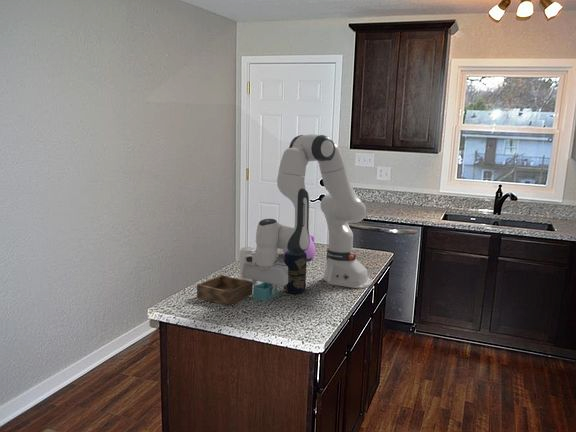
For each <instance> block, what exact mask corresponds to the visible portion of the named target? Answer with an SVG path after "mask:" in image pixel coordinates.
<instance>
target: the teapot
mask: <svg viewBox="0 0 576 432" xmlns="http://www.w3.org/2000/svg"><path fill="white" fill-rule="evenodd" d="M309 237H310V244H309V247H308V248H307V250H306V251H304V252H305V253H306V254H307V260H311V259H312V258H313V257H314V256H315V255H316V247H315V244H314V243H315V237H314V236H313V235H312V234H309ZM286 252H287V251H286V250H282V254H283V256H284V255H285V253H286Z"/></svg>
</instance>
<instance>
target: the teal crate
mask: <svg viewBox="0 0 576 432" xmlns="http://www.w3.org/2000/svg"><path fill="white" fill-rule="evenodd" d="M271 289H273V287H272V284H269V283H265V282H261V283H259V284H258V283H257V285H256V286H254V285H253V293H252V299H255V300H257V299H258V301H261V300H262V301H261V302H268V301H269V300H271V299H273V298H276V297H277V296H278V287H277V288H276V290H275V294H274V295H272V294H270V290H271Z"/></svg>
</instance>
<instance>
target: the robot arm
mask: <svg viewBox="0 0 576 432" xmlns="http://www.w3.org/2000/svg"><path fill="white" fill-rule="evenodd" d="M309 162H317V163H318V166H319V171H320V175H321V178H322V183H323V186H324V188H325V190H326V191H327V192H328V193H329V194H326V195H324V196H323V197H322V199H321V201H320V210H321V211H322V213H323V215H324V217H325V221H326V224H327V225H326V226H327V230H328V231H327V232H328V243H327V244H328V245H327V247H328V248H327V249H326V264H325V265H326V266H325V270H324V271H325V272H324V274H323V276H322V279H323V280H324V281H325V282H326V283H327V284H328V285H331V286H338V287H345V288H352V289H354V288H355V289H360V290H362V289H365V288H369V287H370V286H372V284H373V279H372V278H369V277H368V274H369V273H368V270H367V268H366V267H365V266H364V264H362V263H361V262H360V261H359V260H357V259H356V258H357V255H358V252H355V251H354V250H353V247H354V246H353V244H354V233H353V231H352V229H351V228H350V225H349V223H351V224H353V223H355V224H356V223H360V222H362V221H363V220H364V218H365V217H366V214H367V207H366V204H365V203H364V202H363V201H362V200H361V199H360V198H359V196H358V195H357V194H356V192H355V190H354V188H353V186H352V185H351V181H350V179H349V176H348V175H349V174H348V172H347V168H346V164H345V160H344V157H343V154H342V152H341V149H340V147H339V146H338V145H337V144H336V143H335V142H334V141H333V140H332V138H331V137H329V136H328V135H324V134H315V133H313V134H305V135H304V134H300V135H297V136H295V137H294V138H293V139H292V140H291V142H290V143H289V147H288V148H286V149H285V150H284V151H283V154H282V156H281V160H280V164H279V167H278V173H277V178H276V182H277V188H278V190H279V192H280V193H281V194H282V195H283V196H284V197H286V198H287V199H289V201H291V203H292V205H293V207H294V227H290V226H286V225H284V224H281V223H279V222H278V220H277V219H274V218H264V219H262V220H259V222H258V224H257V228H256V233H255V243H256V248H255V250H254V254H251V255H248V256H245V257H244V261H245V262H244V264H243V271H242V275H243V277H244V278H248V279H252V281H251V282H252V283H253V287H254V286H256V285H258V282H261V283H263V282H265V283H269V284H272V287H273V289H271V290H270V294H272V295H274V294H275V290H276V288H277V289H278V287H282V288H283V286H285V285H287V284H288V266H287V265H286V264H285V263H284V262H280V261H278V249H280V250H282V251H283V250H286V251H289V252H292V253H294V254H297V255H299V254H301V253H303V252H304V251H306V250H307V248H308V247H309V244H310V238H311V237H309V235H310V232H309V231H310V230H309V223H310V197H309V196H310V195H309V193H308V191H307V189H306V185H305V184H306V183H305V178H306V171H307V165H308V163H309Z"/></svg>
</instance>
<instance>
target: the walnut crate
mask: <svg viewBox="0 0 576 432" xmlns="http://www.w3.org/2000/svg"><path fill="white" fill-rule="evenodd" d="M196 286H197V287H196V299H200V300H204V301H209V302H212V303H215V304H219V305H223V306H226V307H227V306H228V307H232V306H233V305H235V304H236V303H239V302H240V301H241V302H242V301H243V300H244V299H247V298H248V297H251V296H253V287H254V285H253V283H252V281H246V280H242V279H240V278H237V277H233V276H229V275H224V274H221V275H217V276H216V277H213V278H210V279H208V280H205V281H203V282H201V283H198V284H197V285H196Z"/></svg>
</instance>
